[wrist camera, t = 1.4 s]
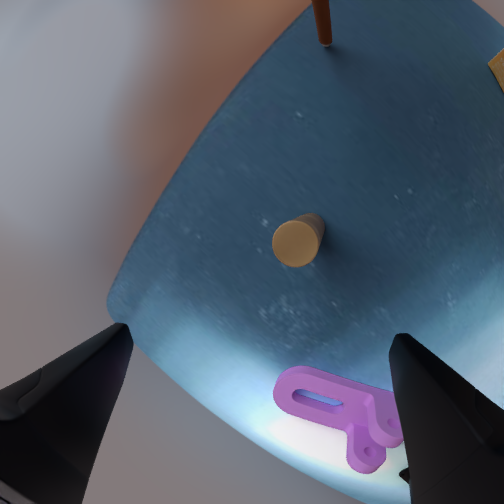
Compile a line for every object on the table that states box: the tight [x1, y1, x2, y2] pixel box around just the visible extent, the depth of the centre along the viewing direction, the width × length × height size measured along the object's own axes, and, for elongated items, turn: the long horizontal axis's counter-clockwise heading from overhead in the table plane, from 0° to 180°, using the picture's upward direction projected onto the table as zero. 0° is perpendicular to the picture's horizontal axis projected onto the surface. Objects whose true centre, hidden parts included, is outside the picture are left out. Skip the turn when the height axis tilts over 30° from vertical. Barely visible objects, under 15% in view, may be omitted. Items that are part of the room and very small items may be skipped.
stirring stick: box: [272, 213, 325, 267], centre depth 20 cm, size 2×2×10 cm
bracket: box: [273, 366, 404, 474], centre depth 23 cm, size 13×6×7 cm, turn 73°
